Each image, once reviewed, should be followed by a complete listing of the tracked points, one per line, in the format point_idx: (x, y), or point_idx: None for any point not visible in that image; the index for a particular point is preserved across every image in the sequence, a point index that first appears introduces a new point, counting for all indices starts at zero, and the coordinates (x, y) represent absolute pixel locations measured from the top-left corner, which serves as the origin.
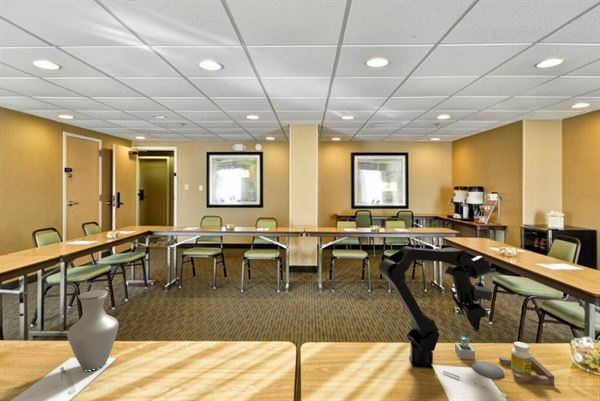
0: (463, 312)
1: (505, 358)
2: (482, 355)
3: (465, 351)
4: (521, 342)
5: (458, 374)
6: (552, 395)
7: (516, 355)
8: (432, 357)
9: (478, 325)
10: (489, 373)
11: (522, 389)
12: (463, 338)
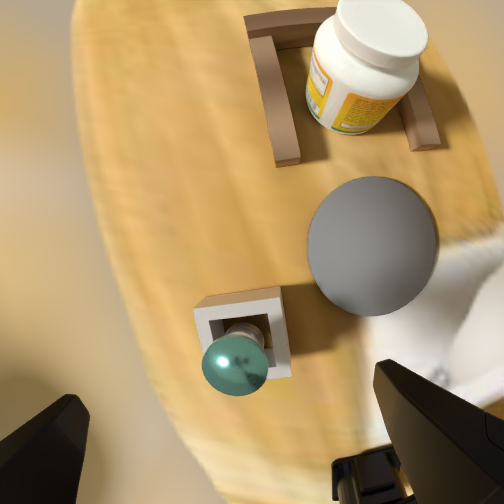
0: (75, 467)
1: (278, 133)
2: (219, 236)
3: (287, 346)
4: (344, 4)
5: (426, 370)
6: (447, 66)
7: (409, 89)
8: (390, 468)
9: (447, 402)
10: (416, 249)
11: (461, 147)
12: (236, 377)
